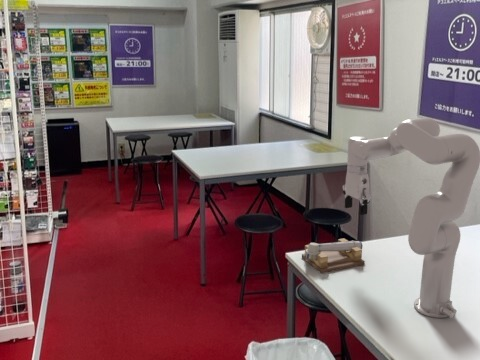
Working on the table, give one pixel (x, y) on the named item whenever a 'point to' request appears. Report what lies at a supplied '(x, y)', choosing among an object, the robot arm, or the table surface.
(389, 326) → the table surface
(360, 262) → the rack
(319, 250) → the electric toothbrush handle
